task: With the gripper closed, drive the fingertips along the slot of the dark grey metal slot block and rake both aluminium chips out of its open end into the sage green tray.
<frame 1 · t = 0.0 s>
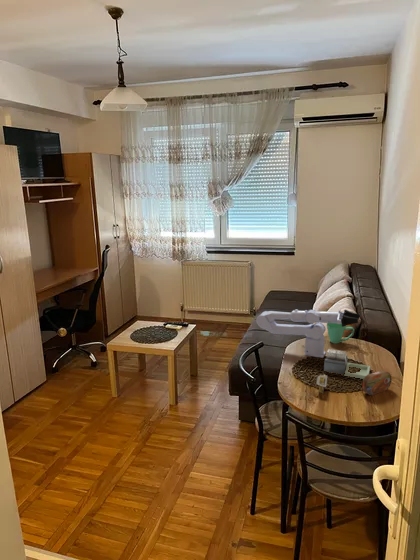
hand: (358, 318, 197), 22 cm above the table, tool horizontal, fingers open, 7 cm apart
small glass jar: (321, 391, 172), on the table
mug: (339, 342, 226), on the table
slot block: (335, 369, 191), on the table
tray: (357, 373, 187), on the table
tin: (375, 392, 170), on the table
front chip: (341, 360, 189), point 5 cm above the table, touching slot block
rear chip: (331, 358, 191), point 5 cm above the table, touching slot block
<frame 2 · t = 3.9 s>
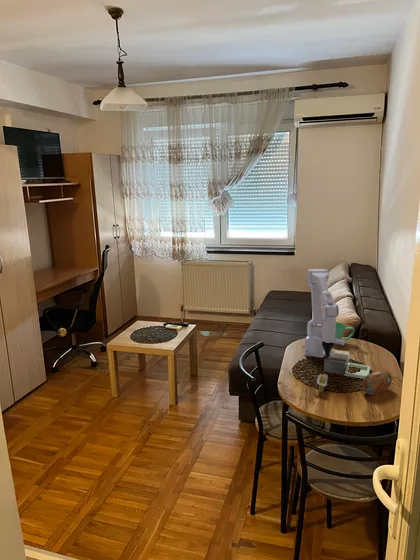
hand: (327, 357, 192), 6 cm above the table, tool pointing down, fingers closed
front chip: (343, 360, 189), point 5 cm above the table, touching rear chip
rear chip: (334, 359, 190), point 5 cm above the table, touching front chip, gripper
everything else where it was.
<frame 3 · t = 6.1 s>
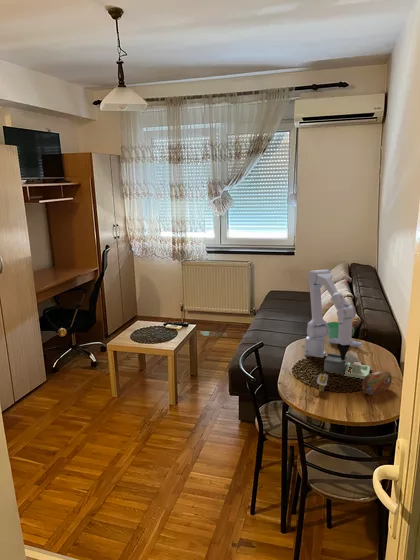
hand: (342, 359, 189), 6 cm above the table, tool pointing down, fingers closed
front chip: (351, 367, 188), point 2 cm above the table, tilted 90°, touching tray
rear chip: (348, 360, 188), point 5 cm above the table, tilted 28°, touching gripper
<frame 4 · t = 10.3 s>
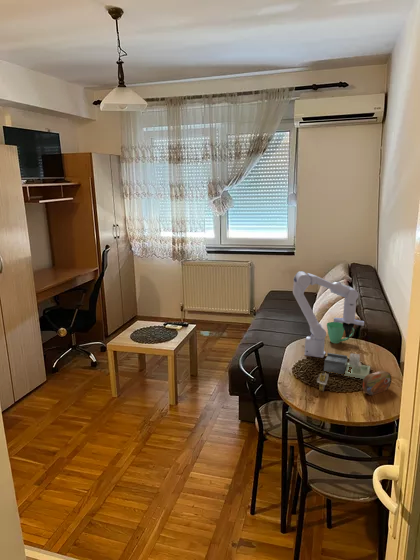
hand: (347, 337, 207), 9 cm above the table, tool pointing down, fingers closed
front chip: (351, 367, 188), point 2 cm above the table, tilted 90°, touching rear chip, tray
rear chip: (354, 363, 187), point 4 cm above the table, touching front chip
at the end: front chip inside the target area on the tray (2.7 cm from its centre), point 2.5 cm above the tray's base; rear chip inside the target area on the tray (1.7 cm from its centre), point 4.5 cm above the tray's base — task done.
